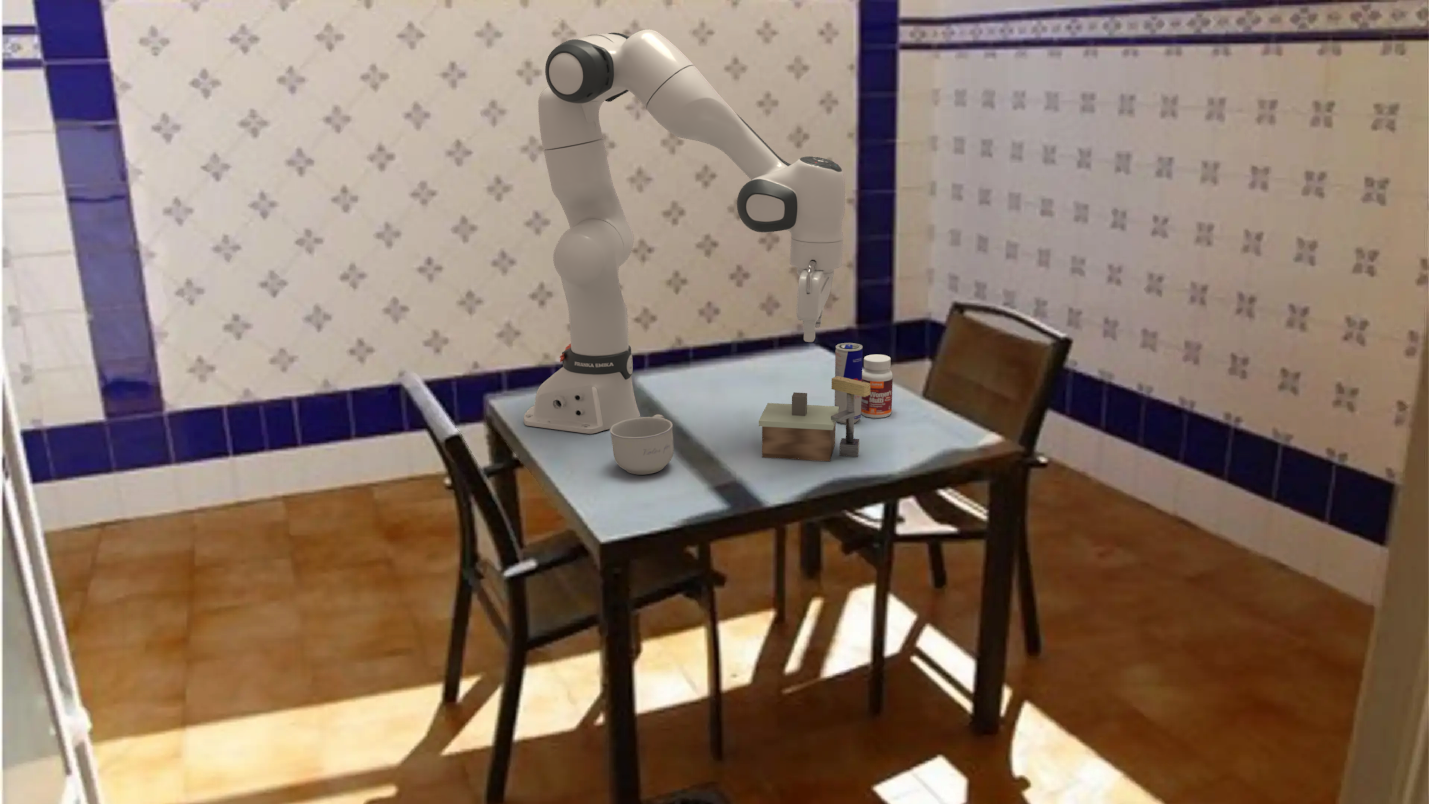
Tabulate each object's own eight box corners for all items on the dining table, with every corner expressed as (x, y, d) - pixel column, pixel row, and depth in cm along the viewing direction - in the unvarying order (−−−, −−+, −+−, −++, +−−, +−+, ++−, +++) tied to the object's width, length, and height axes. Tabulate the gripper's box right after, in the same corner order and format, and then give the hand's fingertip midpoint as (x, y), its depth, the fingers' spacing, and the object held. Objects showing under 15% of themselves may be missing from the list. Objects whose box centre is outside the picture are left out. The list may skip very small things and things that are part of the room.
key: (850, 452, 205) (852, 390, 202) (818, 443, 210) (819, 383, 206) (868, 444, 209) (870, 383, 205) (836, 435, 213) (837, 375, 210)
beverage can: (859, 425, 225) (861, 349, 220) (832, 424, 226) (834, 348, 221) (862, 416, 230) (863, 342, 225) (835, 415, 231) (836, 341, 226)
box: (762, 457, 210) (762, 425, 208) (770, 440, 218) (770, 409, 217) (829, 461, 208) (830, 429, 206) (835, 443, 216) (835, 412, 214)
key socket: (839, 455, 210) (839, 444, 209) (841, 449, 213) (841, 438, 212) (857, 456, 209) (857, 445, 209) (859, 450, 212) (859, 439, 212)
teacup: (650, 484, 199) (649, 440, 196) (599, 472, 204) (597, 429, 202) (695, 458, 210) (694, 416, 208) (645, 448, 216) (644, 406, 213)
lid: (758, 430, 208) (758, 401, 206) (767, 412, 217) (767, 384, 216) (832, 434, 206) (833, 405, 204) (838, 415, 215) (839, 387, 213)
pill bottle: (869, 420, 228) (871, 364, 224) (854, 411, 233) (855, 355, 230) (897, 416, 230) (899, 359, 226) (881, 406, 235) (882, 352, 232)
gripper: (828, 268, 191) (824, 351, 196) (840, 244, 210) (836, 320, 215) (789, 266, 192) (786, 348, 197) (805, 242, 211) (801, 318, 216)
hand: (812, 333), depth 206 cm, fingers open, 8 cm apart
